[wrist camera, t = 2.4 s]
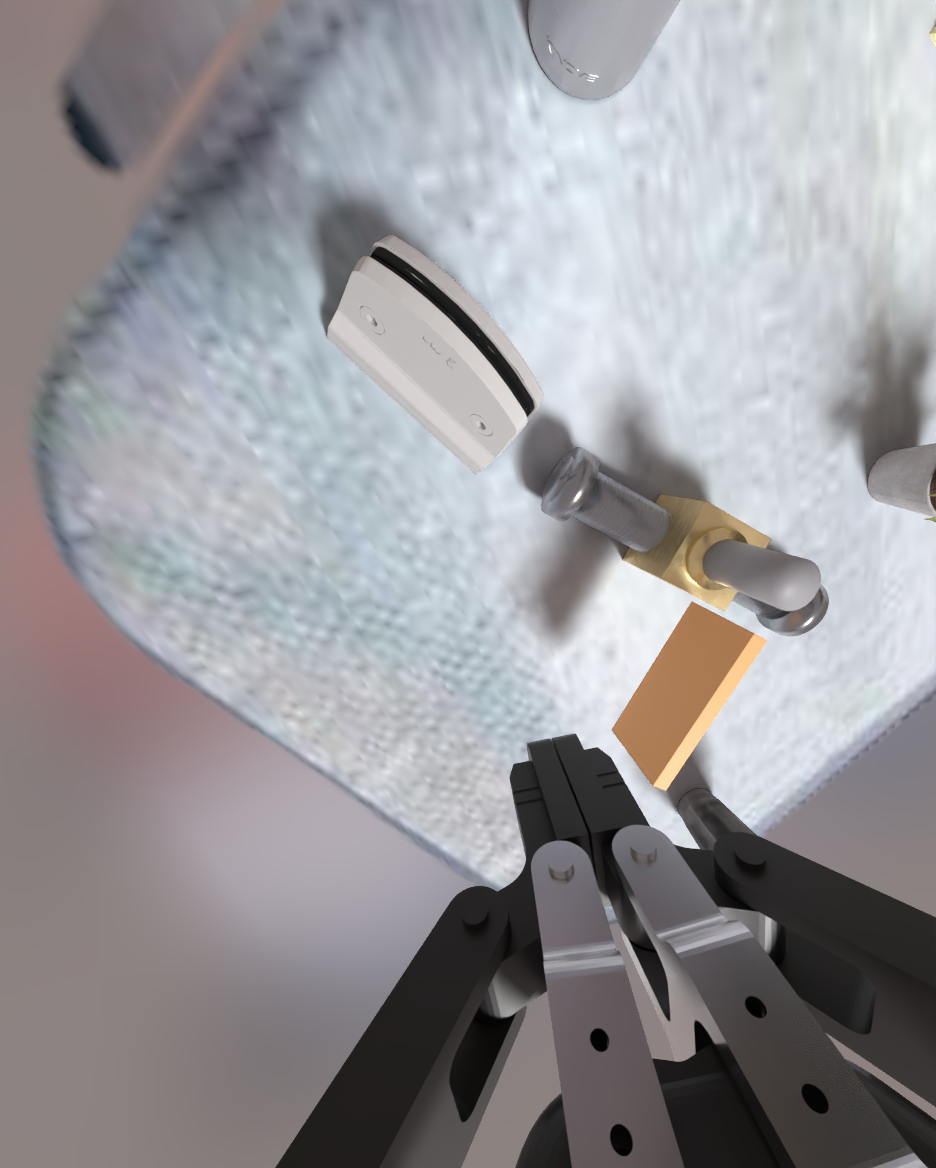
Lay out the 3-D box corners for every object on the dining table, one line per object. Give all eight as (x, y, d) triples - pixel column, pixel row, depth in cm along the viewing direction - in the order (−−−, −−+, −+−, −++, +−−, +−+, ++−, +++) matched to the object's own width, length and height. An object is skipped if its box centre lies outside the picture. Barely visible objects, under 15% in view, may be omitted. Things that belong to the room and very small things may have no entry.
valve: (567, 441, 40) (602, 438, 33) (793, 569, 47) (863, 590, 39) (530, 512, 41) (555, 524, 34) (754, 627, 48) (815, 658, 41)
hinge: (322, 334, 35) (328, 244, 26) (360, 294, 36) (379, 194, 27) (479, 477, 40) (532, 445, 31) (508, 439, 41) (569, 396, 32)
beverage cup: (719, 770, 53) (896, 949, 34) (727, 816, 55) (898, 1009, 36) (661, 791, 52) (806, 983, 33) (672, 837, 55) (813, 1042, 36)
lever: (719, 531, 36) (791, 549, 29) (752, 550, 36) (830, 572, 30) (599, 724, 39) (639, 780, 32) (632, 738, 40) (678, 795, 33)
